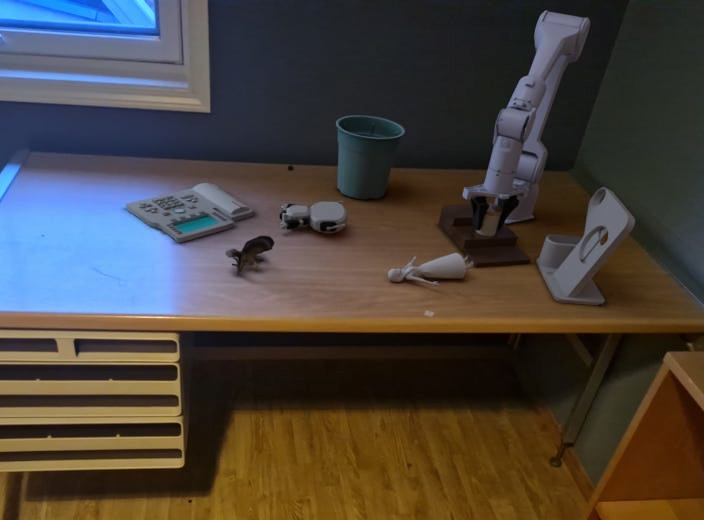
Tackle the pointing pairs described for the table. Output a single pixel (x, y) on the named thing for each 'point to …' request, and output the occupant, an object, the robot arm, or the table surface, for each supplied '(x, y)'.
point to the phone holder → (585, 251)
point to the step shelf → (480, 239)
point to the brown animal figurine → (251, 252)
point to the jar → (490, 220)
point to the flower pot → (366, 154)
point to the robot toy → (314, 216)
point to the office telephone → (191, 212)
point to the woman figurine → (433, 269)
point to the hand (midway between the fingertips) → (486, 227)
